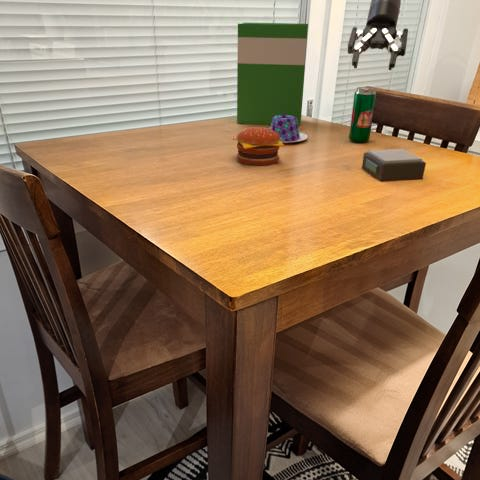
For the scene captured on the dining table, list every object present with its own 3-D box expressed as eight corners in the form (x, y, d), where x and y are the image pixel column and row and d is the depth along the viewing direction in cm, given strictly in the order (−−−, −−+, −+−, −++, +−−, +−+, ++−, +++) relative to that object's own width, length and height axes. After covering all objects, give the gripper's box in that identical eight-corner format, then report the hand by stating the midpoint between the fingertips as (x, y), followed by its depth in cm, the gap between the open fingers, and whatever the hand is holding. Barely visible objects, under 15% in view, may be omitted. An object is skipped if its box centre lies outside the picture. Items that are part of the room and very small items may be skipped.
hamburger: (245, 167, 103) (245, 134, 99) (230, 156, 110) (230, 124, 107) (286, 163, 105) (288, 131, 102) (269, 152, 113) (271, 122, 109)
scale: (401, 166, 105) (404, 147, 103) (422, 179, 98) (426, 159, 96) (360, 168, 103) (362, 149, 101) (379, 181, 96) (382, 161, 94)
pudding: (270, 131, 131) (271, 110, 128) (313, 136, 126) (315, 114, 123) (251, 141, 121) (252, 118, 119) (298, 147, 117) (299, 124, 114)
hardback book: (300, 120, 143) (308, 23, 130) (300, 125, 137) (307, 24, 124) (240, 117, 145) (241, 22, 132) (237, 123, 139) (237, 23, 126)
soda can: (356, 144, 120) (363, 90, 114) (344, 139, 124) (350, 87, 118) (373, 142, 122) (381, 89, 115) (361, 137, 126) (368, 86, 119)
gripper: (355, -1, 124) (343, 54, 122) (414, 0, 121) (403, 57, 118) (355, 22, 132) (344, 76, 129) (411, 24, 128) (400, 79, 125)
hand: (372, 67), depth 123 cm, fingers open, 8 cm apart
